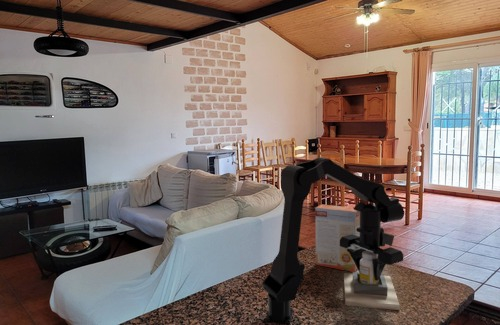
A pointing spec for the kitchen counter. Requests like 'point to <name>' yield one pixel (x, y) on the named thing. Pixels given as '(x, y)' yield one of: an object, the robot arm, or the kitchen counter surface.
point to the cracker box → (335, 235)
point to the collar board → (370, 292)
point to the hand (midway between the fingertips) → (369, 276)
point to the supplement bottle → (367, 268)
